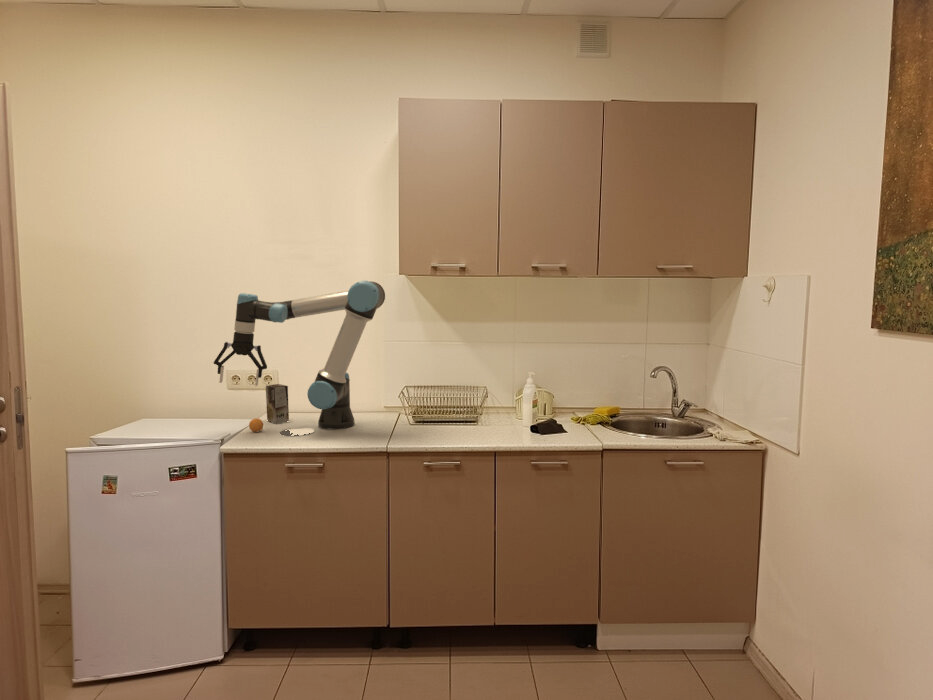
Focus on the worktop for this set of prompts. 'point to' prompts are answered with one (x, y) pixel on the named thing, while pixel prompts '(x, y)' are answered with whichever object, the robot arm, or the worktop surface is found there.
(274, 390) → the coffee box
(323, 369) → the robot arm
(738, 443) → the worktop surface
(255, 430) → the ball
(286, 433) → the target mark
